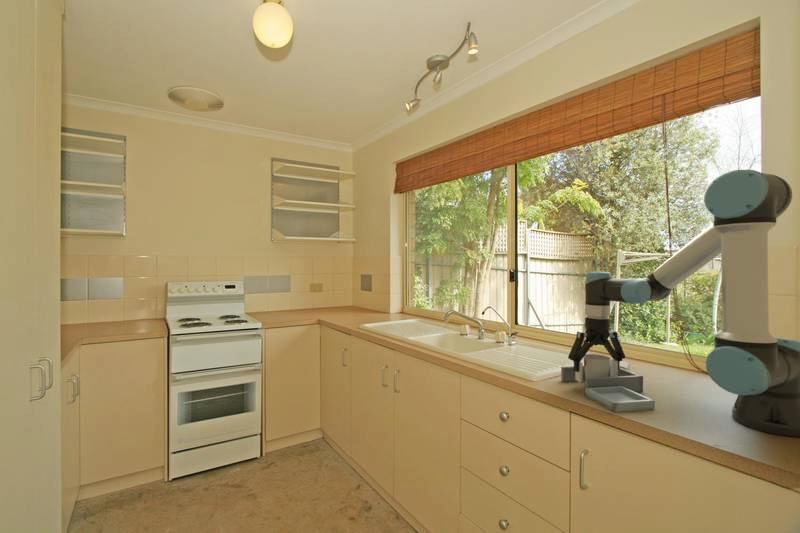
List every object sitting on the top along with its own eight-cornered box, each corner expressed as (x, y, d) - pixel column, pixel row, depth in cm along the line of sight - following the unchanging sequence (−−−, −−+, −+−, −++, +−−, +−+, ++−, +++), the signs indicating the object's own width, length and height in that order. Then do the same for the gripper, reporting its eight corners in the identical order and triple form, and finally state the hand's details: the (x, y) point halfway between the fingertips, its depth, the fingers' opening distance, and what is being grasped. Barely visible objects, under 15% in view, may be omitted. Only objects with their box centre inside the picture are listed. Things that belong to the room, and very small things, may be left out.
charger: (631, 370, 152) (626, 380, 140) (604, 366, 157) (598, 375, 145) (631, 358, 152) (626, 367, 139) (605, 355, 157) (598, 363, 145)
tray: (654, 409, 112) (654, 400, 112) (614, 412, 110) (614, 403, 110) (621, 393, 125) (621, 386, 125) (584, 396, 123) (584, 388, 123)
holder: (642, 391, 127) (643, 376, 127) (587, 394, 124) (587, 379, 124) (611, 378, 141) (611, 364, 141) (561, 380, 138) (561, 366, 138)
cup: (588, 381, 138) (588, 352, 138) (613, 386, 132) (613, 357, 132) (579, 386, 132) (579, 356, 132) (605, 392, 127) (605, 361, 126)
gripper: (621, 314, 138) (620, 375, 138) (557, 316, 133) (556, 378, 134) (638, 318, 130) (637, 381, 131) (570, 319, 126) (570, 385, 126)
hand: (596, 380), depth 132 cm, fingers open, 12 cm apart
